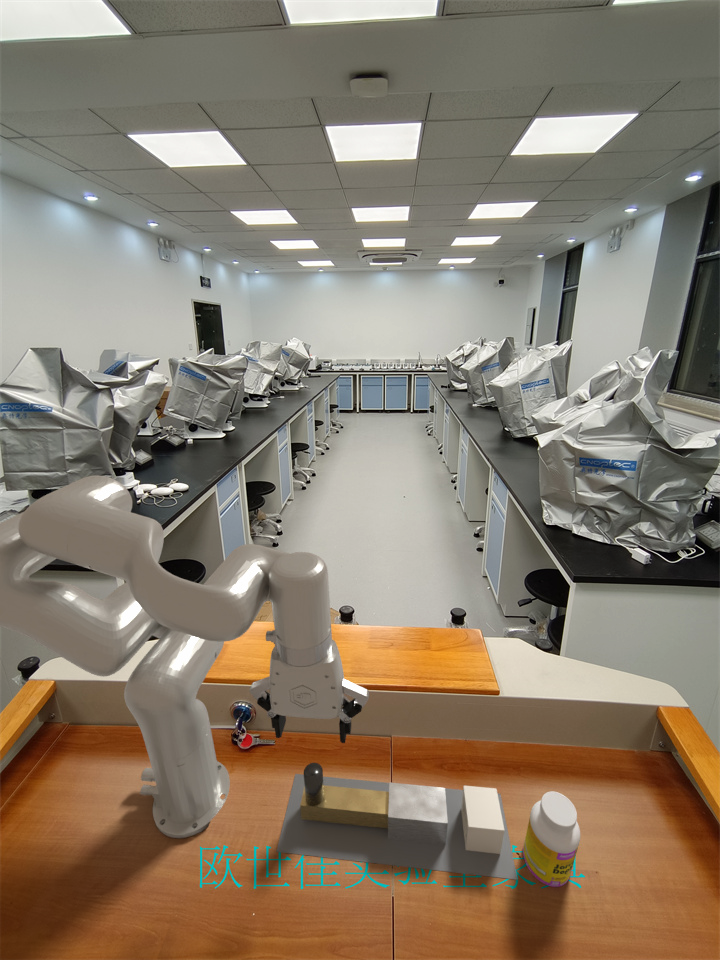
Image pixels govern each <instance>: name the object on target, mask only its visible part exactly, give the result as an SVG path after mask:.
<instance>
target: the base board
mask: <svg viewBox="0 0 720 960" xmlns="http://www.w3.org/2000/svg"><path fill="white" fill-rule="evenodd" d="M323 785H325V786H335V787H345V788H356V789H366V790H376V791H386V792H389V782H384V781H374V780H373V781H371V780H364V779H363V780H362V779H351V778H343V777H342V778H341V777H335V776H334V777H332V776H331V777H330V776H323ZM304 786H305V785H304V773H303V774H302V773H295V774H294V779H293V782H292V787H291V791H290V793H289V794H290V795H289V799H288V803H287V808H286V811H285V816H284V820H283V822H282V823H283V824H282V827H281V830H280V834H279V840H278V842H277V843H278V844H277V847H276V853H285V854H293V855H301V856H310V857H317V858H327V859H336V860H342V861H343V860H344V861H352V862H362V863H370V864H371V863H372V864H377V865H378V864H379V865H387V866H395V867H397V866H398V867H404V868H412V869H419V870H420V869H422V870H430V871H438V872H440V871H441V872H446V873H457V874H464V875H471V876H473V875H474V876H481V877H488V878H490V877H491V878H498V879H507V880H515V881H518V876H517V870H516V865H515V861H514V857H513V850H512V845H511V840H510V835H509V830H508V825H507V820H506V819H507V818H506V816H505V810H504V805H503V799H502V796H501V793H500V792H499V793H498V792H497V794H498V799H499V804H500V809H501V815H502V820H503V825H504V830H505V831H504V836H503V842H502V848H501V854H496V853H487V852H478V851H469V850H466V848H465V839H464V830H463V821H462V812H461V804H462V795H463V789H454V788H447V787H444V788H445V795H446V807H447V819H448V827H447V837H446V845H441V844H432V843H423V842H414V841H405V840H396V839H388V828H379V827H369V826H360V825H351V824H342V823H332V822H323V821H314V820H304V819H302V818H301V807H300V804H301V800H302V795H303V791H304Z"/></svg>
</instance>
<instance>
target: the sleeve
mask: <svg viewBox="0 0 720 960" xmlns="http://www.w3.org/2000/svg"><path fill="white" fill-rule="evenodd" d="M388 783H389V808H388V839H396V840H405V841H414V842H423V843H432V844H441V845H446V837H447V827H448V819H447V807H446V795H445V788H446V787H440V786H439V787H438V786H431V785H430V786H428V785H418V784H408V783H398V782H388Z"/></svg>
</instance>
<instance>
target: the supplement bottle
mask: <svg viewBox="0 0 720 960" xmlns="http://www.w3.org/2000/svg"><path fill="white" fill-rule="evenodd" d="M530 810H531V811H530V814H529V820H528V824H527V828H526V833H525V838H524V843H523V848H522V852H523V853H522V854H523V859H524V861H525V864H526V867H527V868H528V869H529V871H530V873H531V874H532V876H534V877H535V879H537V880H538V881H540V882H541V883H542V884H544V885H547V886H549V887H553V888H558V887H562V886H564V885H566V884H567V883H568V881H569V879H570V877H571V874H572V871H573V866H574V862H575V859H576V856H577V853H578V848H579V846H580V843H581V842H580V841H581V828H580V826H579V823H578V821H577V820H578V813H577V809H576V806H575V805H574V803H573V802H572V801H571V800H570V799H569V798H568V797H567V796H565V795H564V794H562V793H560V792H557V791H552V790H551V791H548V792H545V793H544V794H543V795H542V797H541V799H540V800H538V801H537V802H535V803H534V804H533V806H532V808H531V809H530Z"/></svg>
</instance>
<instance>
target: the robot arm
mask: <svg viewBox="0 0 720 960" xmlns="http://www.w3.org/2000/svg"><path fill="white" fill-rule="evenodd" d="M132 509H133V498H132V495H131V493H130V492H129V490H128V488H127V487H126V486H125V485H123V484H122V483H121V482H120V481H118V480H117V479H114V478H111V477H108V476H106V475H98V474H96V475H88V476H85V477H82V478H80V479H77V480H75V481H73V482H71V483H69V484H67V485H65V486H63V487H61V488H58V489H56V490H54V491H52V492H49V493H47V494H46V495H43V496H41V497H40V498H38V499H37V500H35V501H34V502H33V503H31V504H30V505H28V507H27V508H26V509H25V510H24V511H23V512H21V513H19V514H17V515H14V516H13V517H10V518H9V519H6V520H4V521H2V522H0V627H1V628H4V629H7V630H10V631H13V632H16V633H18V634H21V635H23V636H26V637H28V638H29V639H31V640H33V641H35V642H36V643H37V644H39V645H41V646H43V647H44V648H46V649H47V650H49V651H51V652H53V653H55V654H56V655H58V656H59V657H61V659H62V658H63V659H64V660H66V661H68V662H69V663H71V664H73V665H75V667H78V668H80V669H81V670H83V671H85V672H87V673H89V674H91V675H94V676H98V677H110V676H112V675H114V674H116V673H117V672H119V671H121V670H122V669H123V668H124V667H125V666H126V665H127V664H128V663H129V662H130V661H131V660H132V659H133V658H134V656H136V654H137V653H138V652H139V651H140V650H141V649H142V647H143V646H144V645H145V644H146V643H147V642H148V641H149V639H150V638H151V637H152V636H153V637H155V638H157V639H158V640H157V641H156V643H154V644H153V646H152V647H151V648H150V649H149V650H148V652H147V653H146V654H145V655H144V656H143V658H142V659H141V660H140V661H139V663H138V664H137V665H136V667H135V668H134V669H133V671H132V672H131V674H130V676H129V678H128V680H127V682H126V684H125V688H124V695H123V697H124V701H125V705H126V707H127V708H128V710H129V712H130V713H131V715H132V717H134V719H135V722H136V724H137V725H138V727H139V729H140V732H141V734H142V738H143V741H144V744H145V748H146V751H147V752H146V753H147V755H148V760H149V763H150V767H145V768H144V769H143V770H142V773H141V776H140V780H141V781H142V782H150V783H153V782H155V785H150V784H142V786H141V788H140V791H139V792H140V793H139V794H140V795H143V796H152V798H153V799H154V800H153V805H152V817H153V820H154V822H155V823H154V824H155V826H156V828H157V829H158V831H159V832H161V833H162V834H163V835H165V836H167V837H169V838H174V839H175V838H176V839H184V838H188V837H191V836H195V835H196V834H199V833H201V832H203V831H204V830H205V829H207V828H208V827H209V826H210V823H211V821H212V820H213V819H214V818H215V816H217V815H218V813H219V812H220V810H221V809H222V808H223V807H224V805H225V803H226V801H227V798H228V797H229V796H228V795H229V793H230V787H231V786H230V785H231V784H230V783H231V781H230V775H229V771H228V769H227V767H226V766H225V765H223V764H222V762H219V761H218V760H217V754H216V750H215V744H214V738H213V734H212V728H211V723H210V718H209V713H208V710H207V707H206V705H205V703H204V702H202V701H201V700H200V699H199V698H197V695H198V692H199V689H200V687H201V686H202V684H203V682H204V681H205V679H206V677H207V674H208V673H209V671H210V670H211V668H212V667H213V665H214V663H215V662H216V660H217V659H218V657H219V655H220V653H221V651H222V649H223V647H224V644H225V642H231V641H234V640H236V639H238V638H241V637H242V636H243V635H244V634H245V633H246V632H247V631H248V630H249V629H250V627H252V624H253V623H254V621H255V620H256V617H257V616H258V615H259V613H260V611H261V609H262V607H263V606H264V604H265V603H267V602H270V604H271V609H272V612H271V613H272V619H273V625H274V629H272V630H267V631H266V633H265V641H266V642H271V643H273V645H274V647H273V648H272V650H271V652H270V653H271V654H270V660H269V661H270V662H269V676H266V677H264V678H262V679H259V680H256V681H253V682H252V683H251V686H250V688H249V693H250V695H251V696H252V697H253V698H254V699H255V700H256V704H257V705H258V706H259V707H261V708H262V709H263V710H264V711H265V712H266V715H267V716H268V718H270V721H271V728H272V729H274V733H275V734H274V735H275V738H276V739H280V738H282V735H283V732H284V729H285V726H286V723H287V717H290V718H292V717H294V718H307V719H321V720H331V719H336V718H339V723H338V725H339V729H338V730H339V742H340V743H341V744H346V740H347V735H351V732H352V719H353V718H354V717H356V716H357V715H358V714H360V713H361V712H362V709H363V707H365V706H366V704H367V703H368V701H369V699H370V698H369V697H370V691H369V690H368V689H367V688H365V687H363V686H360V685H358V684H356V683H354V682H351V681H350V680H348V679H345V675H344V673H345V672H344V668H343V663H342V659H341V654H340V650H339V648H338V645H337V643H336V641H335V640H334V639H333V635H332V632H333V631H332V619H331V615H332V614H331V603H330V601H331V600H330V598H331V597H330V585H329V572H328V566H327V564H326V562H325V560H324V559H322V558H321V556H319V555H317V554H315V553H311V552H306V551H297V552H291V553H289V552H285V551H283V550H278V549H275V548H271V547H268V546H264V545H260V544H254V543H246V544H241V545H240V546H237V547H236V548H234V549H233V550H232V551H231V552H230V553H229V555H228V556H227V557H226V558H225V559H224V560H223V562H221V564H219V566H218V567H217V568H216V569H215V570H214V572H212V574H211V575H210V576H209V578H208V579H206V581H205V582H204V583H203V584H202V583H197V582H194V581H192V580H188V579H184V578H181V577H179V576H177V575H174V574H172V573H171V572H169V571H168V570H166V569H165V568H163V566H162V565H161V564H159V563H160V562H159V561H160V559H161V558H160V557H161V555H162V551H163V547H164V540H165V536H164V528H163V527H162V524H161V523H160V522H158V521H157V520H156V519H154V518H151V517H149V516H144V515H141V514H138V513H135V512H132ZM56 559H57V560H60V561H63V562H67V563H71V564H72V565H76V566H79V567H82V568H86V569H89V570H91V571H92V570H93V571H95V572H97V573H101V574H104V575H107V576H111V577H114V578H117V579H121V580H123V581H125V582H124V583H122V584H121V585H120V586H118V587H117V588H116V589H114V590H113V591H111V593H110V594H108V595H107V596H106V597H105V598H102V599H99V598H97V597H94V596H92V595H91V594H89V593H87V592H85V591H84V590H82V589H81V588H80V587H77V586H75V585H73V584H70V583H66V582H61V581H55V580H43V579H41V580H39V579H37V580H35V579H31V578H30V576H31V575H33V574H35V573H36V572H38V571H40V570H41V569H43V568H45V566H48V565H50V564H51V563H52V562H53V561H55V560H56ZM268 691H269V692H268ZM346 695H347V696H349V697H351V698H353V699H352V700H350V699H349V697H347V696H346ZM222 795H225V796H224V797H223V798H221V796H222Z"/></svg>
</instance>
